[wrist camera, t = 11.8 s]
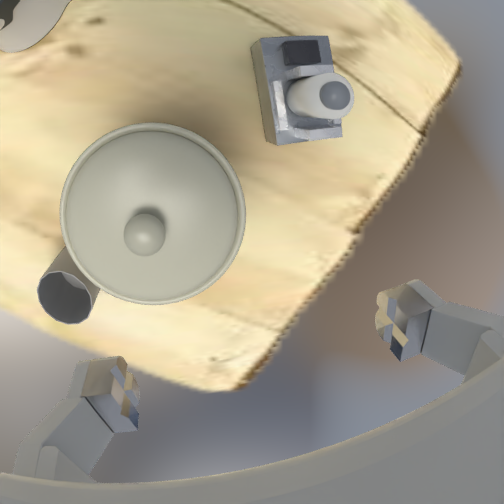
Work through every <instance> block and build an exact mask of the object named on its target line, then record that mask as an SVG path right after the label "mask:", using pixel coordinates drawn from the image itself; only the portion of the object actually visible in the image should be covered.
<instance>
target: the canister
mask: <svg viewBox="0 0 504 504" xmlns="http://www.w3.org/2000/svg"><path fill="white" fill-rule="evenodd" d="M245 223H246V207H245V200H244V195H243V191H242V188H241V185H240V182H239V180H238V177H237V175H236V173H235V172H234V170H233V168H232V166H231V165H230V163H229V162H228V161H227V159H226V158H225V157H224V156H223V154H222V153H221V152H220V151H219V150H218V149H217V148H216V147H215V146H213V145H212V144H211V143H210V142H208V141H207V140H206V139H204V138H203V137H201V136H199V135H198V134H196V133H194V132H192V131H190V130H187V129H185V128H182V127H179V126H175V125H171V124H165V123H138V124H133V125H128V126H125V127H122V128H119V129H116V130H114V131H112V132H110V133H108V134H106V135H104V136H102V137H101V138H99V139H98V140H96V141H95V142H94V143H93V144H91V145H90V146H89V147H88V148H87V149H86V150H85V151H84V152H83V153H82V154H81V155H80V157H79V158H78V159H77V161H76V162H75V164H74V165H73V167H72V168H71V170H70V172H69V174H68V176H67V179H66V181H65V184H64V187H63V191H62V195H61V201H60V225H61V231H62V235H63V239H64V242H65V245H66V247H67V250H68V252H69V254H70V256H71V257H72V259H73V261H74V262H75V264H76V265H77V267H78V268H79V269H80V271H81V272H82V273H83V274H84V275H85V276H86V277H87V278H88V279H89V280H90V281H91V282H92V283H93V284H95V285H96V286H97V287H99V288H100V289H102V290H103V291H105V292H107V293H108V294H110V295H112V296H114V297H117V298H119V299H122V300H125V301H128V302H132V303H137V304H144V305H164V304H171V303H176V302H179V301H183V300H186V299H188V298H191V297H193V296H195V295H197V294H199V293H201V292H203V291H204V290H206V289H207V288H209V287H210V286H211V285H213V284H214V283H215V282H216V281H217V280H218V279H219V278H220V277H221V276H222V275H223V274H224V273H225V272H226V271H227V269H228V268H229V267H230V265H231V264H232V262H233V260H234V259H235V257H236V255H237V253H238V251H239V248H240V246H241V243H242V240H243V236H244V231H245Z"/></svg>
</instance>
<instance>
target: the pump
mask: <svg viewBox="0 0 504 504" xmlns="http://www.w3.org/2000/svg"><path fill="white" fill-rule="evenodd" d="M286 100H287V104H288V106H289V108H290V109H291V111H292V112H294V113H295V114H296V115H298V116H301V117H310V118H325V119H339V118H342V117H344V116H346V115H347V114H348V113H349V112H350V110H351V109H352V107H353V104H354V92H353V89H352V87H351V85H350V83H349V82H348V81H347V80H346V79H345V78H344V77H343V76H341V75H339V74H336V73H324V74H320V75H316V76H312V77H308V78H304V79H300V80H297V81H295V82H294V83H292V84H291V85H290V87H289V88H288V90H287V94H286Z"/></svg>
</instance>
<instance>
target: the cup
mask: <svg viewBox="0 0 504 504" xmlns="http://www.w3.org/2000/svg"><path fill="white" fill-rule="evenodd" d="M99 290H100V288H99V287H97V286H96V285H95V284H93V283H92V282H91V281H90V280H89V279H88V278H87V277H86V276H85V275H84V274H83V273H82V272H81V271H80V269H79V268H78V267H77V265H76V264H75V262H74V261H73V259H72V257H71V256H70V254H69V252H68V250H67V247H65V248H63V250H62V251H61V252H60V254H59V255H58V256H57V257H56V259H55V260H54V261H53V263H52V264H51V265H50V267H49V268H48V269H47V271H46V272H45V273H44V275H43V276H42V278H41V279H40V282H39V285H38V288H37V293H38V298H39V302H40V304H41V305H42V307H43V309H44V310H45V312H46V313H47V314H48V315H50V316H51V317H52V318H54V319H55V320H56V321H59V322H62V323H65V324H79V323H81V322H83V321H84V320H86V319H87V318H88V317H89V315H90V312H91V310H92V308H93V305H94V303H95V300H96V298H97V295H98V293H99Z"/></svg>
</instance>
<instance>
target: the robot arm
mask: <svg viewBox="0 0 504 504" xmlns="http://www.w3.org/2000/svg"><path fill="white" fill-rule="evenodd" d="M70 1H71V0H0V50H2V51H4V52H18V51H22V50H24V49H27V48H29V47H31V46H32V45H34V44H35V43H37V42H38V41H39V40H41V39H42V38H43V37H44V36H45V35H46V34H47V33H48V32H49V31H50V30H51V29H52V28H53V27H54V25H55V24H56V23H57V21H58V20H59V18H60V16H61V15H62V13H63V11H64V9H65V7H66V6H67V4H68V3H69V2H70ZM377 304H378V306H380V308H379V310H378V311H377V313H376V316H375V317H376V318H375V324H376V328H377V331H378V333H379V335H380V337H381V338H382V340H383V341H386V342H389V343H391V345H390V350H391V351H392V352H393V354H394V355H395V356H396V357H397V359H398V360H399V361H400V362H401V361H404V360H406V359H408V358H411V357H413V356H415V355H418V354H420V353H421V354H422V355H423V356H425V357H427V358H429V359H431V360H434V361H436V362H438V363H440V364H442V365H444V366H446V367H448V368H450V369H452V370H454V371H456V372H459V373H460V374H463V375H465V376H464V379H463V381H462V383H461V385H460V386H458V387H457V388H455V389H453V390H452V391H450V392H448V393H446V394H445V395H443V396H441V397H439V398H437V399H435V400H434V401H432V402H430V403H428V404H426V405H424V406H422V407H421V408H418V409H416V410H415V411H413V412H410V413H408V414H406V415H404V416H402V417H400V418H398V419H396V420H394V421H391V422H389V423H387V424H385V425H383V426H380V427H378V428H375V429H373V430H371V431H368V432H366V433H363V434H361V435H358V436H356V437H353V438H351V439H348V440H345V441H343V442H340V443H337V444H334V445H331V446H329V447H325V448H323V449H319V450H316V451H314V452H310V453H307V454H304V455H300V456H297V457H294V458H290V459H286V460H283V461H279V462H275V463H271V464H267V465H263V466H258V467H254V468H250V469H244V470H240V471H234V472H229V473H224V474H218V475H211V476H205V477H198V478H191V479H181V480H172V481H160V482H144V483H98V482H96V481H95V480H94V479H92V478H91V477H90V476H89V474H90V472H91V470H92V469H93V467H94V466H95V464H96V463H97V461H98V459H99V458H100V456H101V454H102V453H103V451H104V450H105V448H106V446H107V445H108V443H109V442H110V440H111V439H112V437H113V435H114V433H119V432H127V431H136V430H138V419H139V413H138V411H137V410H136V409H135V408H136V406H137V405H138V404H139V402H140V392H139V387H138V384H137V381H136V379H135V377H134V375H133V374H131V373H130V372H128V371H127V363H126V361H125V360H124V358H123V357H121V356H115V357H108V358H100V359H93V360H85V361H79V362H78V363H77V364H76V367H75V370H74V374H73V377H72V380H71V384H70V387H69V391H68V394H67V398H66V399H62V400H61V401H60V402H59V403H58V404H57V405H56V406H55V407H54V408H53V409H52V410H51V411H50V412H49V413H48V414H47V415H46V416H45V417H44V419H42V421H41V422H40V423H39V424H38V425H37V426H36V427H35V428H34V429H33V430H32V431H31V432H30V433H29V434H28V435H27V436H26V437H25V438H24V440H22V442H21V443H20V445H19V449H18V452H17V456H16V460H15V464H14V468H13V473H12V474H8V473H3V472H0V504H504V316H500V315H497V314H493V313H489V312H486V311H482V310H478V309H475V308H471V307H467V306H464V305H460V304H457V303H453V302H448V303H446V302H445V301H444V300H443V299H441V298H440V297H439V296H438V295H437V294H436V293H434V292H433V291H432V290H431V289H430V288H429V287H427V286H426V285H425V284H424V283H423V282H422V281H420V280H417V279H415V280H413V281H410V282H407V283H405V284H403V285H400V286H397V287H394V288H391V289H388V290H385V291H383V292H379V294H378V296H377Z"/></svg>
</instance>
